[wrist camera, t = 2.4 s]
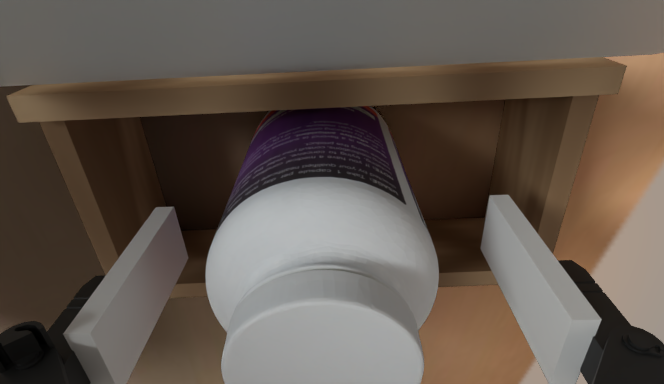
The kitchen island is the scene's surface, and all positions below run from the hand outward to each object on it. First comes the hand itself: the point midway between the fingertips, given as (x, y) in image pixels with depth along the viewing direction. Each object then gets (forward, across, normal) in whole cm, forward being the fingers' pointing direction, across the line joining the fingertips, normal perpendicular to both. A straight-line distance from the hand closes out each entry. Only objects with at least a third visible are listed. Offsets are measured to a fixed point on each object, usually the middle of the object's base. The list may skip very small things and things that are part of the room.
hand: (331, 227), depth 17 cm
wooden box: (+7, 0, 0) cm, 7 cm away
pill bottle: (+8, 0, 0) cm, 8 cm away
